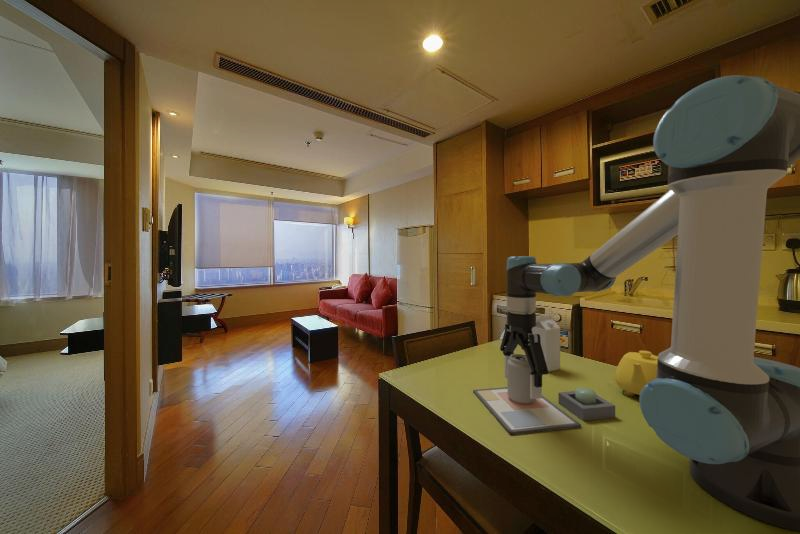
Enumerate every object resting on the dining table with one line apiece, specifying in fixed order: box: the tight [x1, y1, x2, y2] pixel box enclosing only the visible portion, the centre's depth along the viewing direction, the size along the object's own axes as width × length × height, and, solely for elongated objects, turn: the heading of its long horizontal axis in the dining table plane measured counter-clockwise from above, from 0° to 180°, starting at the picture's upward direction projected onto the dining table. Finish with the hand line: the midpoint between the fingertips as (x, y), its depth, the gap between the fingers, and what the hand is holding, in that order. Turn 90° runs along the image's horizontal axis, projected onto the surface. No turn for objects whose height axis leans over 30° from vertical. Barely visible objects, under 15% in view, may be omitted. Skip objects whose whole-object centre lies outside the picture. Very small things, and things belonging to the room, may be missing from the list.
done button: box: [574, 387, 597, 405], centre depth 78 cm, size 5×5×3 cm
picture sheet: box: [472, 386, 582, 436], centre depth 80 cm, size 22×18×1 cm
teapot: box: [614, 350, 658, 397], centre depth 85 cm, size 14×20×13 cm
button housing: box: [557, 390, 616, 422], centre depth 78 cm, size 9×9×3 cm
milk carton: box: [532, 314, 561, 373], centre depth 108 cm, size 7×7×19 cm
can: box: [506, 353, 536, 404], centre depth 83 cm, size 8×8×12 cm
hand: (521, 386), depth 83 cm, fingers open, 13 cm apart
